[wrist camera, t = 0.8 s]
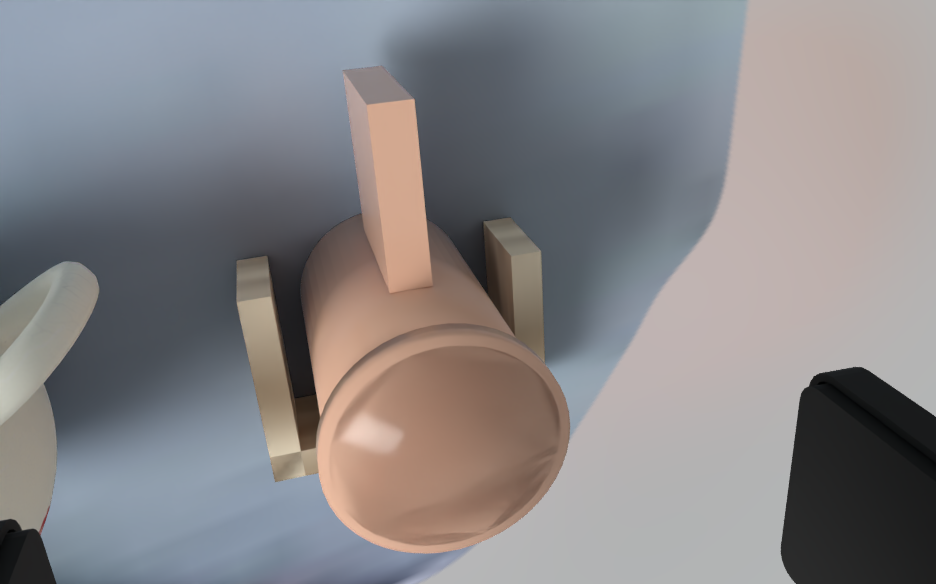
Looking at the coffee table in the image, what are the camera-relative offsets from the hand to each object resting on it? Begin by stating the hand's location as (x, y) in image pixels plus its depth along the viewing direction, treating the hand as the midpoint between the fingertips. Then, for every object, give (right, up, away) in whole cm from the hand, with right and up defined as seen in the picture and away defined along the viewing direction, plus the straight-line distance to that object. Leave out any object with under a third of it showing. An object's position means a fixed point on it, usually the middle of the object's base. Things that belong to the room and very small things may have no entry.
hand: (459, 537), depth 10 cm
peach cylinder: (-4, +6, +23) cm, 24 cm away
